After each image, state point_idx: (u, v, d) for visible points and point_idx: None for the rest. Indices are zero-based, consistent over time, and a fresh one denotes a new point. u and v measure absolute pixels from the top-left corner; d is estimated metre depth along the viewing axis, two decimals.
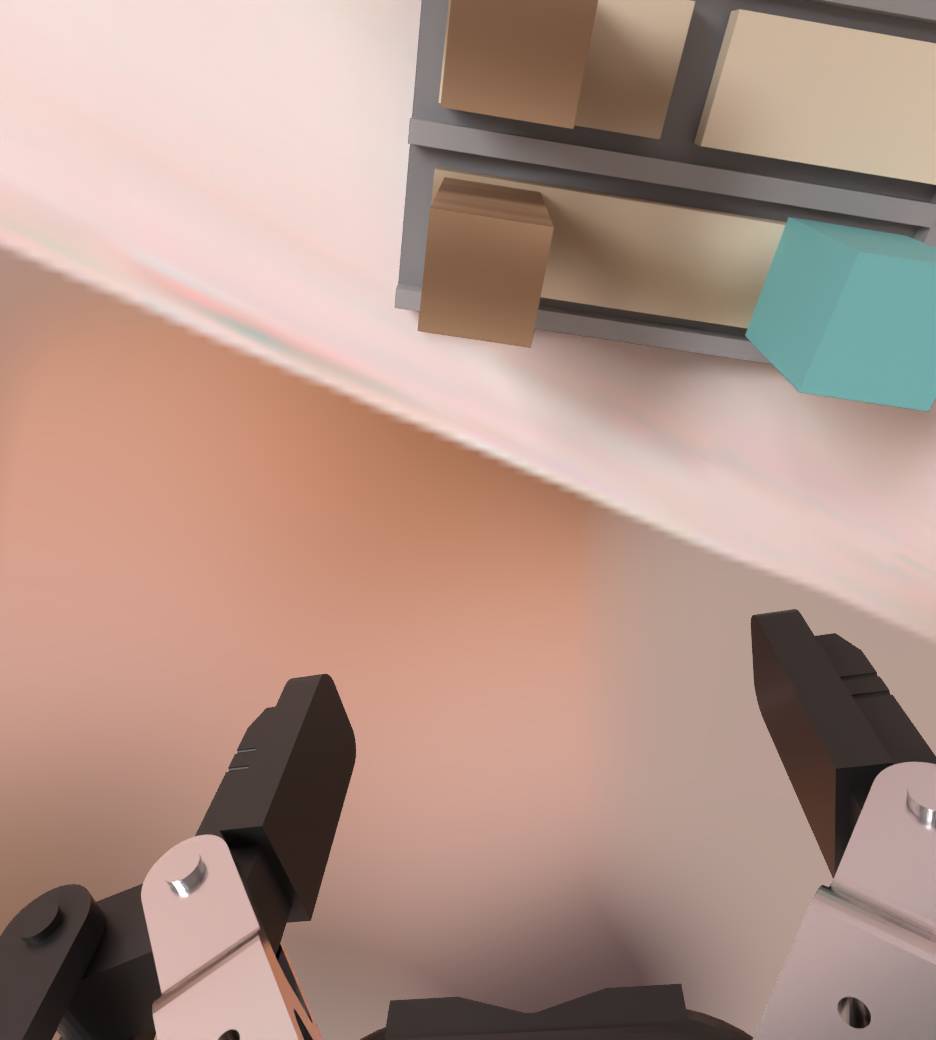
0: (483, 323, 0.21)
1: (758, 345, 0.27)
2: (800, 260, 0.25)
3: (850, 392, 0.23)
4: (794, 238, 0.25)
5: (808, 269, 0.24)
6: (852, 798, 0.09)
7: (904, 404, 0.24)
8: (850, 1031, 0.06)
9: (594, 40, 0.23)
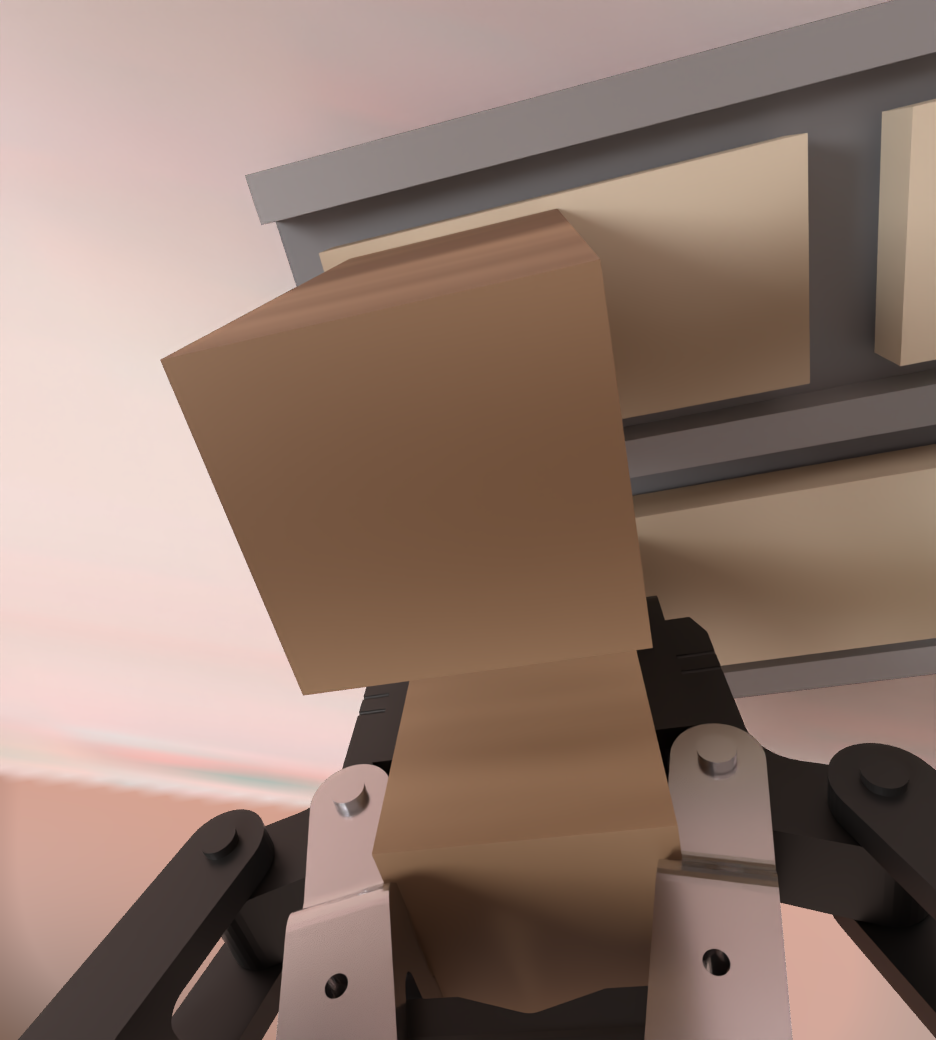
0: (577, 992, 0.09)
1: None
2: None
3: None
4: None
5: None
6: (669, 757, 0.10)
7: None
8: (717, 981, 0.06)
9: (622, 275, 0.12)
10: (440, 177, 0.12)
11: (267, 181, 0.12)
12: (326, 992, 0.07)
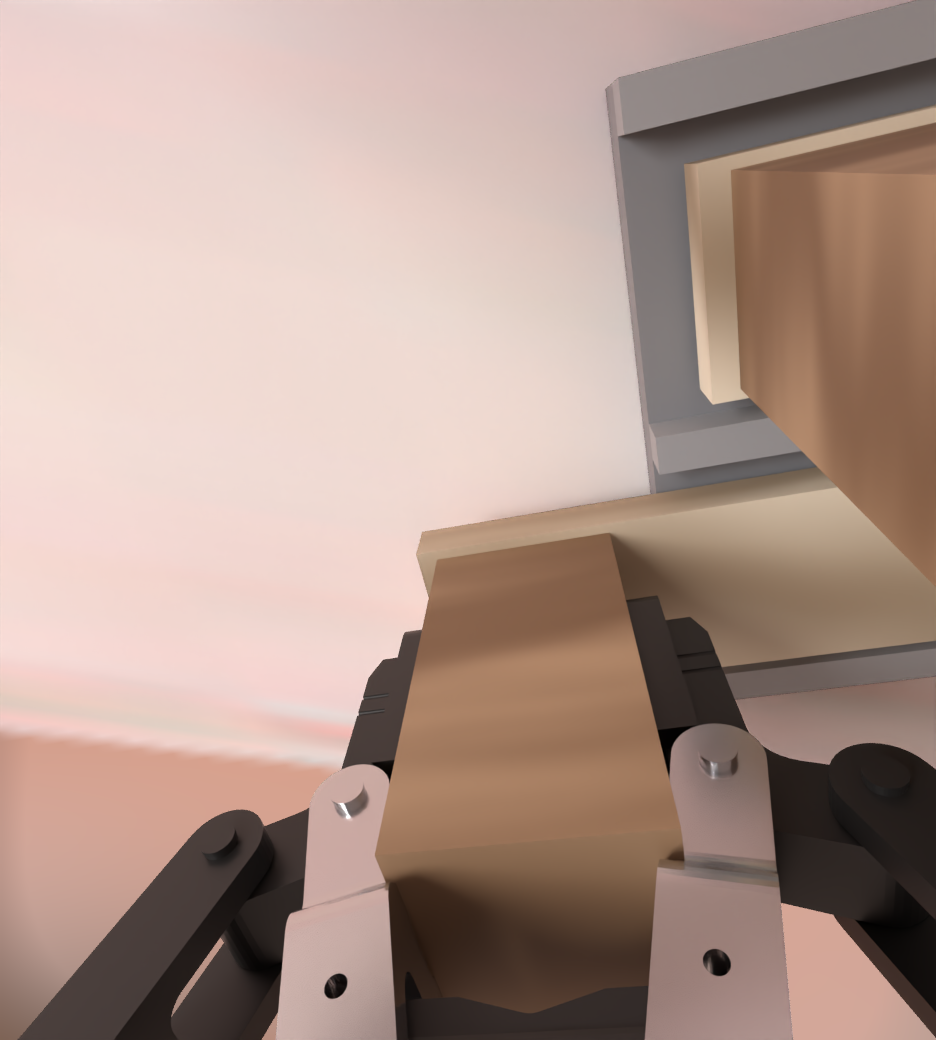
0: (578, 993, 0.09)
1: None
2: None
3: None
4: None
5: None
6: (669, 757, 0.10)
7: None
8: (718, 981, 0.06)
9: None
10: (838, 80, 0.11)
11: (642, 84, 0.11)
12: (326, 993, 0.07)
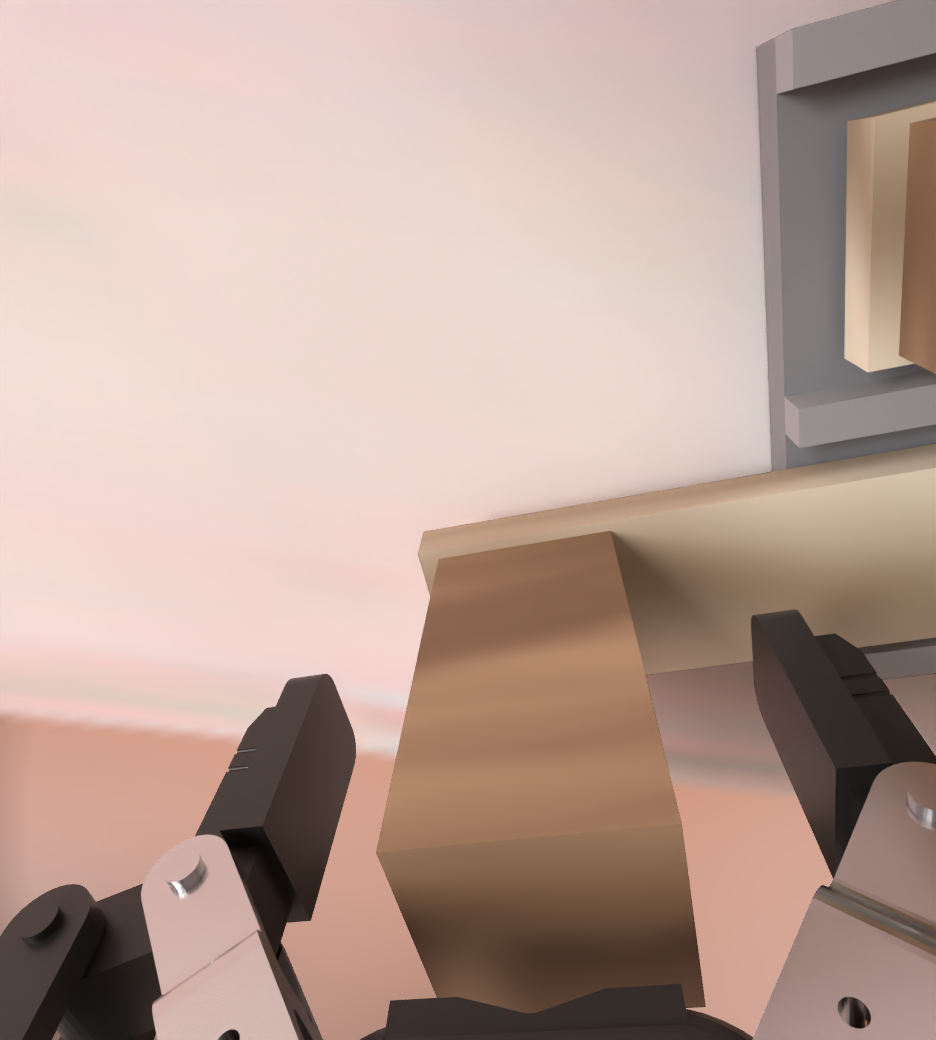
0: (580, 990, 0.09)
1: None
2: None
3: None
4: None
5: None
6: (852, 798, 0.09)
7: None
8: (850, 1031, 0.06)
9: None
10: None
11: (817, 35, 0.10)
12: None
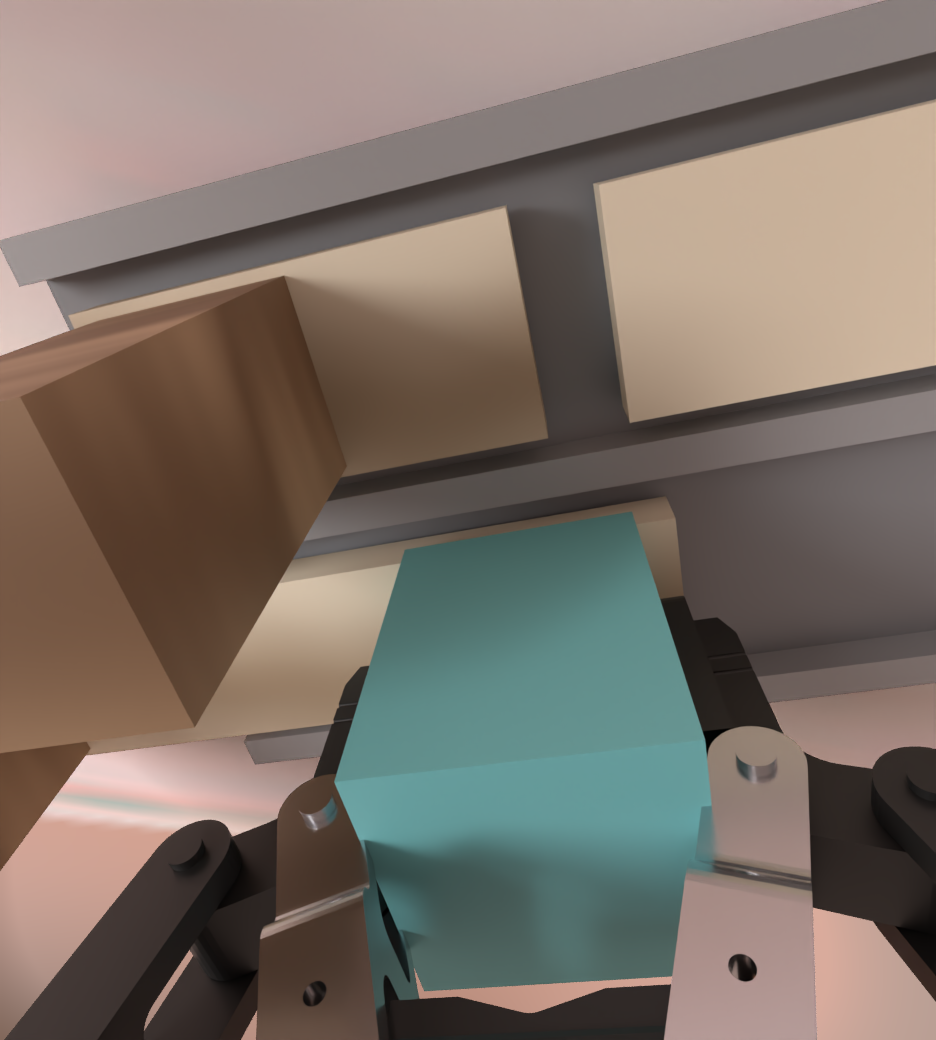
0: None
1: None
2: None
3: (529, 973, 0.10)
4: None
5: None
6: None
7: (663, 971, 0.10)
8: (743, 986, 0.06)
9: (355, 337, 0.12)
10: (180, 243, 0.12)
11: (18, 246, 0.12)
12: (303, 1001, 0.07)
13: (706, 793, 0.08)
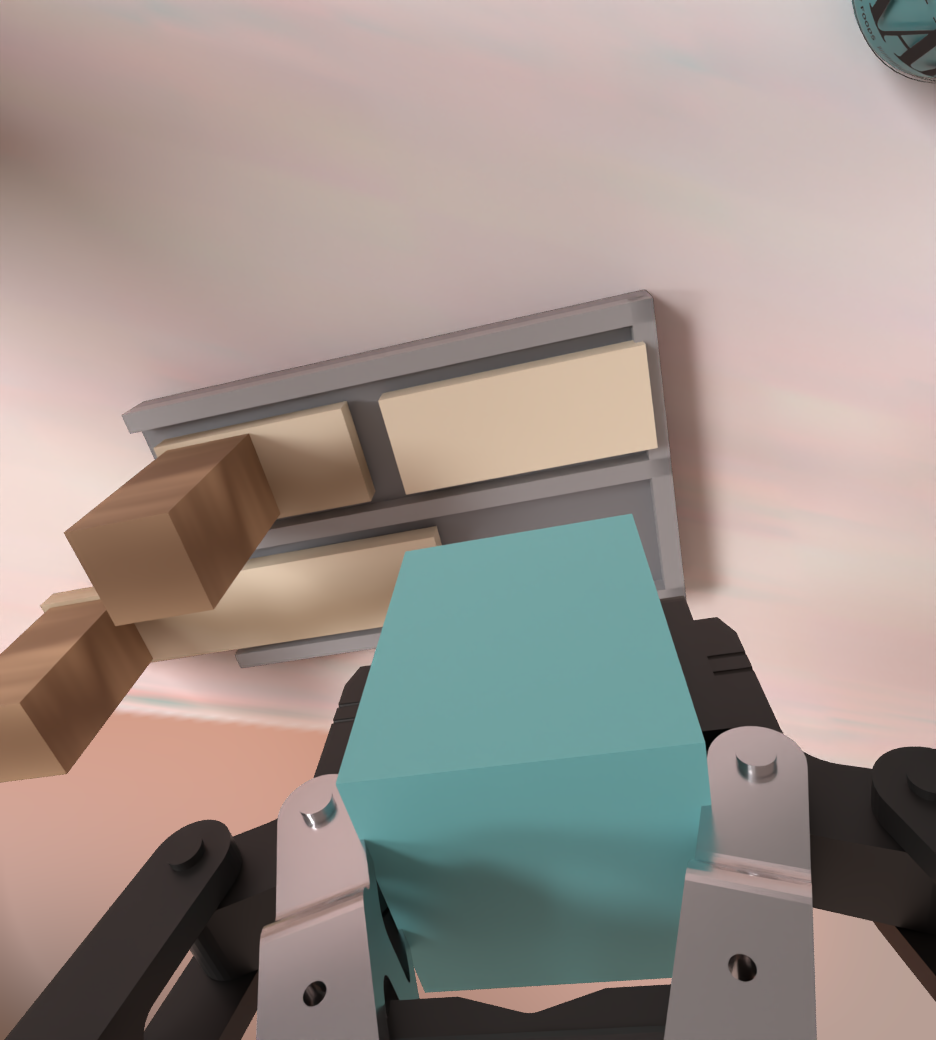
0: (23, 768, 0.27)
1: None
2: None
3: (530, 975, 0.10)
4: None
5: None
6: None
7: (664, 973, 0.10)
8: (743, 986, 0.06)
9: (281, 458, 0.28)
10: (203, 417, 0.27)
11: (131, 417, 0.28)
12: (304, 1002, 0.07)
13: (706, 795, 0.08)
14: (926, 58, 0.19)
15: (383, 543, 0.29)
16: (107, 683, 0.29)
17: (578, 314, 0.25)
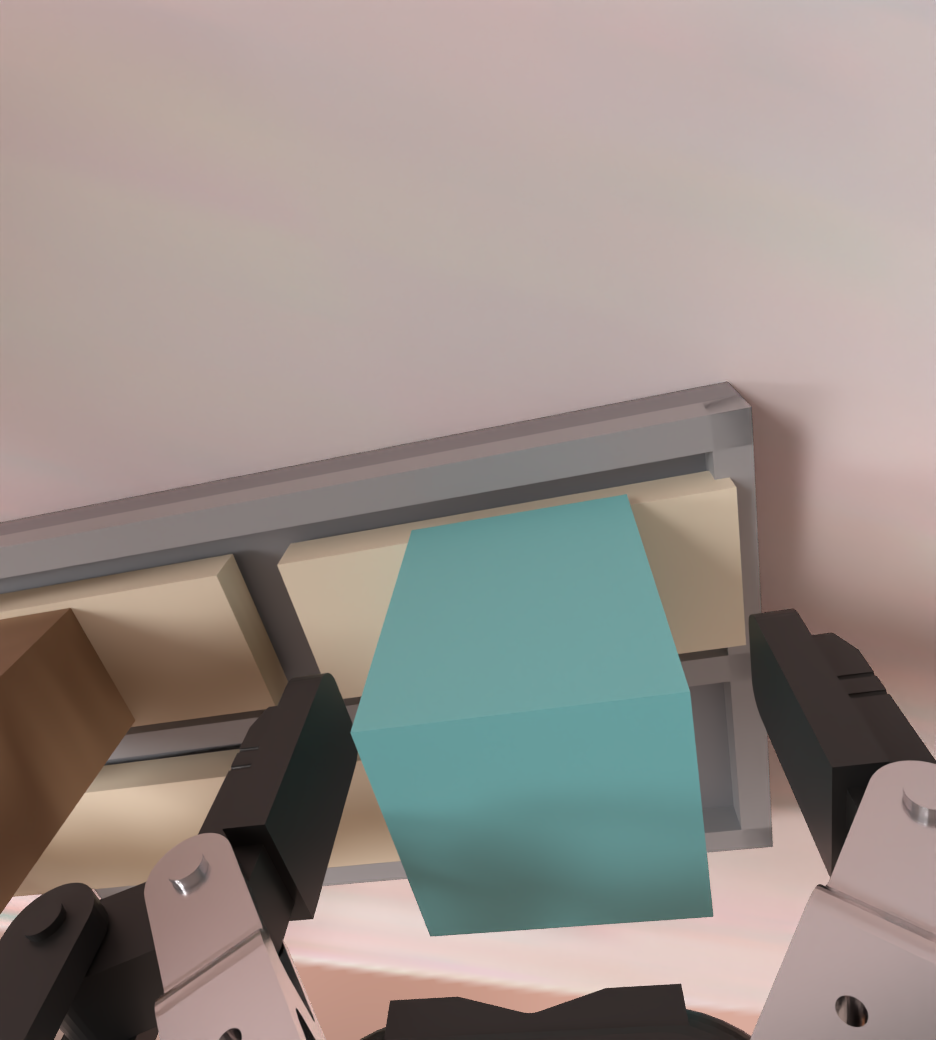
0: None
1: None
2: None
3: (529, 918, 0.11)
4: None
5: None
6: (849, 796, 0.09)
7: (653, 916, 0.11)
8: (847, 1030, 0.06)
9: (127, 644, 0.17)
10: (0, 577, 0.17)
11: None
12: None
13: (691, 742, 0.09)
14: None
15: None
16: None
17: (618, 432, 0.14)
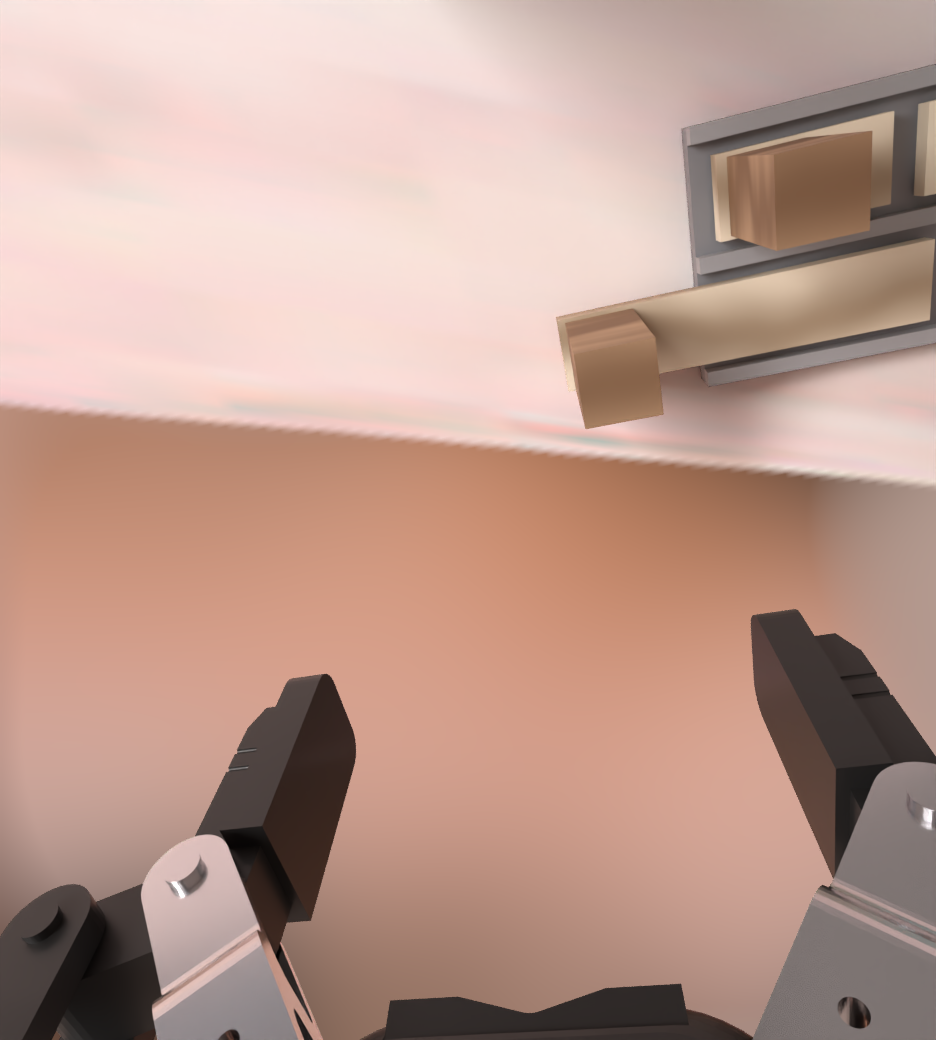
0: (627, 409, 0.32)
1: None
2: None
3: None
4: None
5: None
6: (854, 798, 0.09)
7: None
8: (850, 1031, 0.06)
9: None
10: (761, 127, 0.33)
11: (697, 129, 0.33)
12: None
13: None
14: None
15: (884, 249, 0.35)
16: None
17: None
